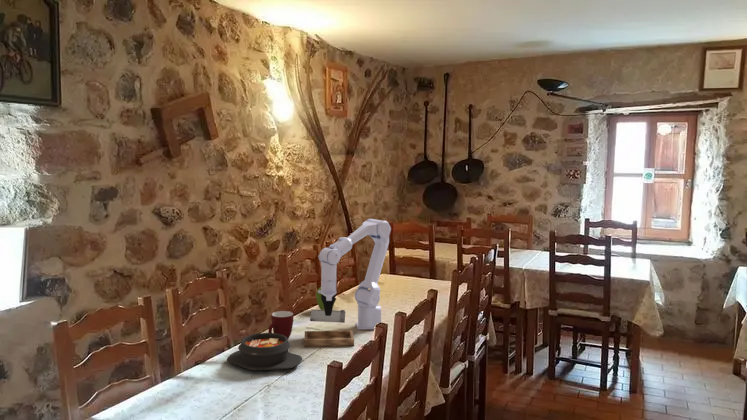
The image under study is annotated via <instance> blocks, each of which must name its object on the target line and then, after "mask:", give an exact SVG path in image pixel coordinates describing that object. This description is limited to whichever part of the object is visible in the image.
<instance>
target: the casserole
mask: <svg viewBox="0 0 747 420" xmlns="http://www.w3.org/2000/svg"><path fill="white" fill-rule="evenodd" d="M291 346H292V344H291V343H290V342H289V339H287V337H286V336H284V335H281V334H277V333H273V332H272V333H269V332H261V333H260V332H259V333H253V334H250V335H247V336H245V337H243V338H242V340H241V342H240V344H239V345H238V346H237V347H238V348H237V349H238V350H236V351H234V352H232V353H231V354H229V355H228V357H227V358H226V361H227V362H228V363H229V364H233V365H237V366H239V367H241V368H243V369H247V370H250V371H251V370H252V371H262V372H264V371H271V370H290V369H292V368H295V367H297V366H299V365H300V364H301V363H302V362H303V357H302V356H301V355H300V354H297V353H291V352H290V351H289V349H290V348H291Z"/></svg>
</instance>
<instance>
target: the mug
mask: <svg viewBox="0 0 747 420" xmlns="http://www.w3.org/2000/svg"><path fill="white" fill-rule="evenodd" d="M293 325H294V312H292V311H288V310H280V311H279V310H278V311H274V312H272V313H271V324H270V325H269V327H268V332H267V333H277V334H281V335H284V336H286V337H287V339H288V340H289V338H291V335H292V332H293Z"/></svg>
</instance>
